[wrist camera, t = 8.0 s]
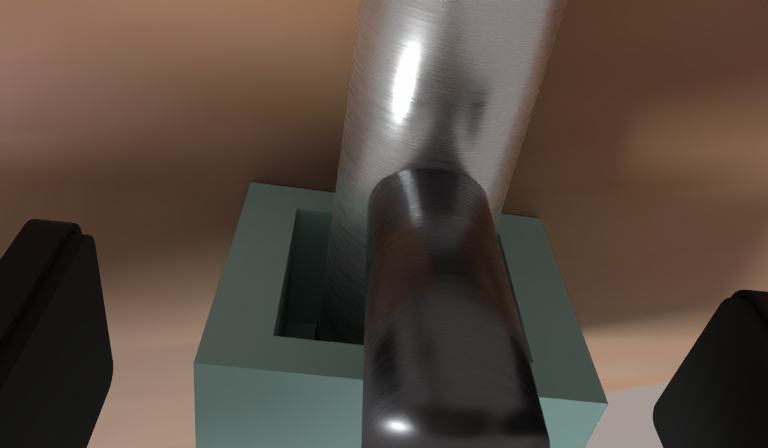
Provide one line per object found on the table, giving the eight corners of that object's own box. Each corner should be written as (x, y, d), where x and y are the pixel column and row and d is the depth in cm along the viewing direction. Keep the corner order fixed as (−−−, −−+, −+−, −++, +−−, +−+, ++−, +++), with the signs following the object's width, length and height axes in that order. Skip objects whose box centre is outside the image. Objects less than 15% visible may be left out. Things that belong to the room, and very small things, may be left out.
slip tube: (413, -448, 11) (519, -1121, 3) (648, -395, 11) (1356, -844, 3) (317, 307, 20) (278, 647, 12) (444, 320, 21) (485, 659, 13)
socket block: (250, 182, 19) (193, 362, 13) (540, 218, 20) (608, 403, 14) (245, 315, 22) (197, 509, 16) (495, 341, 23) (536, 535, 17)
